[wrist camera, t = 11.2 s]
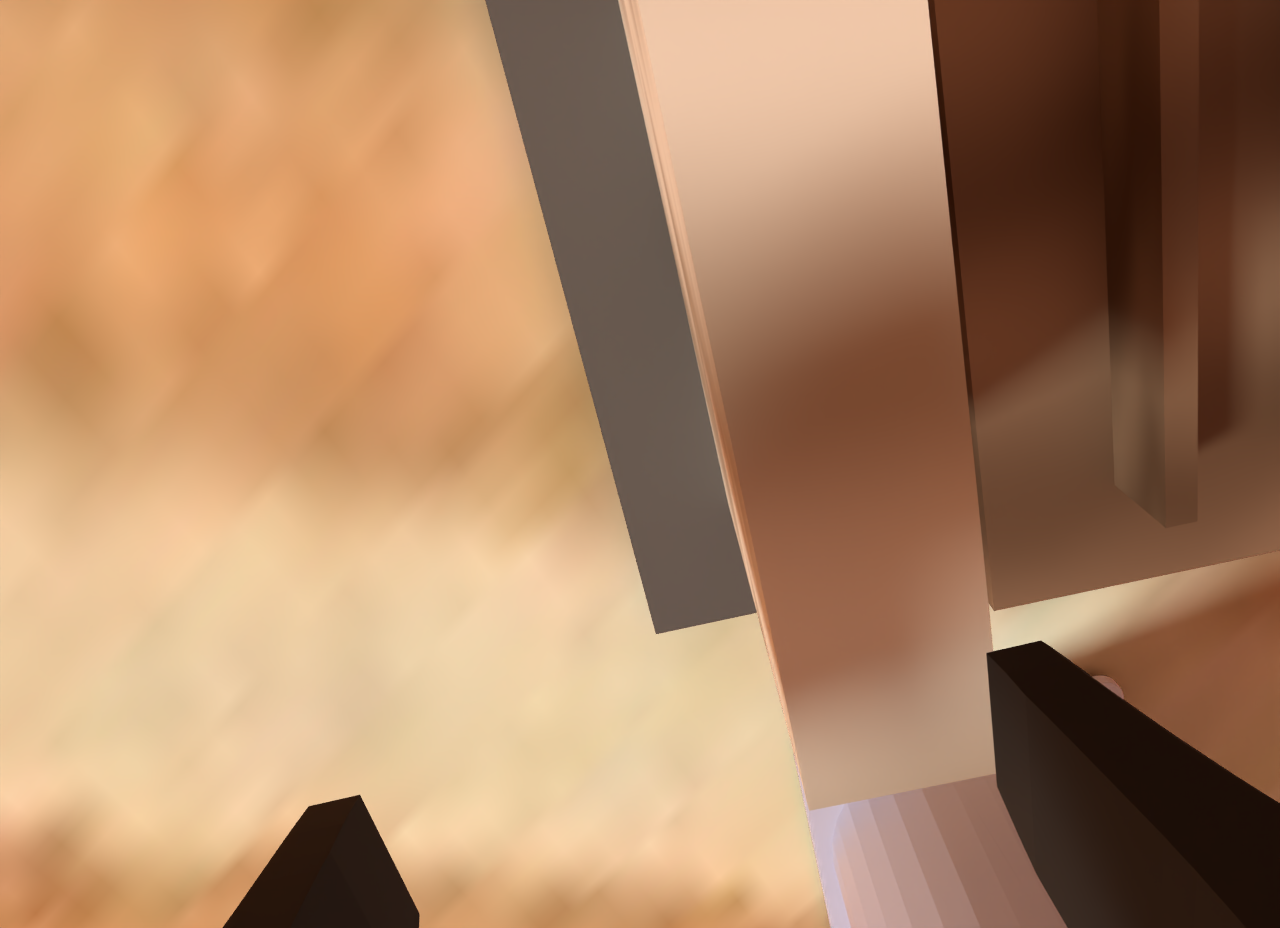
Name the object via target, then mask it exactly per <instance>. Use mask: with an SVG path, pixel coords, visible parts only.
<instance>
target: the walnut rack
mask: <svg viewBox="0 0 1280 928" xmlns="http://www.w3.org/2000/svg"><path fill="white" fill-rule="evenodd" d="M928 9H929V19H930V29H931V38H932V48H933V58H934V68H935V78H936V88H937V98H938V108H939V118H940V128H941V138H942V148H943V158H944V167H945V177H946V187H947V197H948V207H949V217H950V227H951V237H952V247H953V257H954V267H955V277H956V286H957V296H958V306H959V316H960V326H961V336H962V346H963V356H964V366H965V376H966V386H967V396H968V406H969V415H970V425H971V435H972V445H973V455H974V465H975V475H976V485H977V495H978V505H979V515H980V525H981V534H982V544H983V554H984V564H985V574H986V584H987V594H988V603H989V604H990V606H991V607H992V608H993V610H994V611H996V610H1001V609H1005V608H1010V607H1015V606H1020V605H1024V604H1029V603H1034V602H1039V601H1043V600H1048V599H1053V598H1058V597H1062V596H1067V595H1072V594H1077V593H1081V592H1086V591H1091V590H1095V589H1100V588H1105V587H1110V586H1114V585H1119V584H1124V583H1129V582H1133V581H1138V580H1143V579H1148V578H1152V577H1157V576H1162V575H1167V574H1171V573H1176V572H1181V571H1186V570H1190V569H1195V568H1200V567H1205V566H1209V565H1214V564H1219V563H1224V562H1228V561H1233V560H1238V559H1243V558H1247V557H1252V556H1257V555H1261V554H1266V553H1271V552H1276V551H1280V0H928Z"/></svg>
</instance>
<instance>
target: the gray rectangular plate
mask: <svg viewBox="0 0 1280 928" xmlns="http://www.w3.org/2000/svg"><path fill="white" fill-rule="evenodd" d="M485 1H486V5H487V8H488V12H489V16H490V19H491V23H492V27H493V31H494V34H495V38H496V42H497V45H498V49H499V53H500V57H501V60H502V64H503V68H504V71H505V75H506V79H507V83H508V86H509V90H510V94H511V97H512V101H513V105H514V109H515V112H516V116H517V120H518V123H519V127H520V131H521V135H522V138H523V142H524V146H525V149H526V153H527V157H528V161H529V164H530V168H531V172H532V175H533V179H534V183H535V187H536V190H537V194H538V198H539V201H540V205H541V209H542V213H543V216H544V220H545V224H546V227H547V231H548V235H549V239H550V242H551V246H552V250H553V253H554V257H555V261H556V265H557V268H558V272H559V276H560V279H561V283H562V287H563V291H564V294H565V298H566V302H567V305H568V309H569V313H570V316H571V320H572V324H573V328H574V331H575V335H576V339H577V342H578V346H579V350H580V354H581V357H582V361H583V365H584V368H585V372H586V376H587V380H588V383H589V387H590V391H591V394H592V398H593V402H594V406H595V409H596V413H597V417H598V420H599V424H600V428H601V432H602V435H603V439H604V443H605V446H606V450H607V454H608V458H609V461H610V465H611V469H612V472H613V476H614V480H615V484H616V487H617V491H618V495H619V498H620V502H621V506H622V510H623V513H624V517H625V521H626V524H627V528H628V532H629V536H630V539H631V543H632V547H633V550H634V554H635V558H636V562H637V565H638V569H639V573H640V576H641V580H642V584H643V588H644V591H645V595H646V599H647V602H648V606H649V610H650V614H651V617H652V621H653V625H654V628H655V632H656V634H659V633H664V632H668V631H673V630H678V629H682V628H687V627H692V626H696V625H701V624H706V623H710V622H715V621H720V620H724V619H729V618H734V617H738V616H743V615H748V614H752V613H757V611H756V607H755V603H754V599H753V596H752V592H751V588H750V584H749V581H748V577H747V573H746V569H745V565H744V562H743V558H742V554H741V550H740V546H739V543H738V539H737V535H736V531H735V527H734V524H733V520H732V516H731V512H730V508H729V505H728V500H727V496H726V491H725V486H724V482H723V477H722V473H721V468H720V464H719V459H718V454H717V450H716V445H715V441H714V436H713V432H712V427H711V423H710V418H709V413H708V409H707V404H706V400H705V395H704V391H703V386H702V381H701V377H700V372H699V368H698V363H697V359H696V354H695V349H694V345H693V340H692V336H691V331H690V327H689V322H688V317H687V313H686V308H685V304H684V299H683V295H682V290H681V285H680V281H679V276H678V272H677V267H676V263H675V258H674V253H673V249H672V244H671V240H670V235H669V231H668V226H667V222H666V217H665V212H664V208H663V203H662V199H661V194H660V190H659V185H658V180H657V176H656V171H655V167H654V162H653V158H652V153H651V148H650V144H649V139H648V135H647V130H646V126H645V121H644V116H643V112H642V107H641V103H640V98H639V94H638V89H637V84H636V80H635V75H634V71H633V66H632V62H631V57H630V52H629V48H628V43H627V39H626V34H625V30H624V25H623V20H622V16H621V11H620V7H619V2H618V0H485Z"/></svg>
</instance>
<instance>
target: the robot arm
mask: <svg viewBox="0 0 1280 928" xmlns="http://www.w3.org/2000/svg"><path fill="white" fill-rule="evenodd" d="M986 656H987V669H988V681H989V693H990V706H991V718H992V731H993V743H994V756H995V768H996V774H991V775H986V776H981V777H976V778H971V779H966V780H961V781H956V782H951V783H946V784H941V785H936V786H931V787H926V788H921V789H916V790H911V791H906V792H901V793H896V794H891V795H886V796H881V797H876V798H871V799H866V800H861V801H856V802H851V803H846V804H841V805H836V806H831V807H826V808H821V809H816V810H811V811H809V808H808V804H807V801H806V797H805V793H804V789H803V785H802V782H801V778H800V774H799V770H798V766H797V763H796V759H795V763H796V768H797V772H798V777H799V782H800V786H801V791H802V796H803V801H804V805H805V810H806V815H807V819H808V824H809V829H810V833H811V838H812V843H813V847H814V852H815V857H816V862H817V866H818V871H819V876H820V880H821V885H822V890H823V894H824V899H825V904H826V908H827V913H828V918H829V923H830V927H831V928H1280V803H1278V802H1277V801H1275V800H1273V799H1272V798H1270V797H1269V796H1267V795H1265V794H1264V793H1262V792H1261V791H1259V790H1257V789H1256V788H1254V787H1253V786H1251V785H1250V784H1248V783H1246V782H1245V781H1243V780H1242V779H1240V778H1238V777H1237V776H1235V775H1234V774H1232V773H1231V772H1229V771H1228V770H1226V769H1225V768H1223V767H1222V766H1220V765H1219V764H1217V763H1216V762H1214V761H1213V760H1211V759H1210V758H1208V757H1207V756H1205V755H1204V754H1202V753H1201V752H1199V751H1198V750H1196V749H1195V748H1193V747H1192V746H1190V745H1189V744H1187V743H1185V742H1184V741H1182V740H1181V739H1179V738H1178V737H1176V736H1175V735H1174V734H1172V733H1171V732H1169V731H1168V730H1166V729H1165V728H1163V727H1162V726H1160V725H1159V724H1158V723H1156V722H1155V721H1153V720H1152V719H1150V718H1149V717H1147V716H1146V715H1145V714H1143V713H1142V712H1140V711H1139V710H1138V709H1136V708H1135V707H1133V706H1132V705H1131V704H1129V703H1128V702H1126V701H1125V700H1124V695H1123V691H1122V689H1121V688H1120V687H1119V685H1118V684H1117V683H1116V682H1115V681H1114V680H1113V679H1112V678H1111V677H1108V676H1104V675H1102V676H1093V677H1092V676H1090V675H1089V674H1088V673H1086V672H1085V671H1083V670H1082V669H1081V668H1079V667H1078V666H1077V665H1075V664H1074V663H1072V662H1071V661H1070V660H1068V659H1067V658H1066V657H1064V656H1063V655H1061V654H1060V653H1059V652H1057V651H1056V650H1055V649H1053V648H1052V647H1050V646H1049V645H1047V644H1046V643H1044V642H1042V641H1037V642H1033V643H1028V644H1024V645H1020V646H1015V647H1011V648H1006V649H1002V650H997V651H993V652H989V653H986ZM794 758H795V755H794ZM223 928H419V912H418V910H417V908H416V906H415V904H414V902H413V900H412V898H411V896H410V894H409V892H408V890H407V888H406V886H405V884H404V882H403V880H402V878H401V876H400V874H399V872H398V870H397V868H396V866H395V864H394V862H393V860H392V858H391V856H390V854H389V852H388V850H387V848H386V846H385V844H384V842H383V840H382V838H381V836H380V834H379V832H378V830H377V828H376V826H375V824H374V822H373V820H372V818H371V816H370V814H369V812H368V810H367V808H366V806H365V804H364V802H363V800H362V798H361V796H360V795H357V796H353V797H348V798H344V799H339V800H335V801H330V802H326V803H322V804H317V805H313V806H309V807H308V808H307V809H306V811H305V812H304V813H303V815H302V816H301V818H300V819H299V820H298V822H297V823H296V824H295V826H294V827H293V828H292V830H291V831H290V833H289V834H288V835H287V837H286V838H285V840H284V841H283V843H282V844H281V845H280V847H279V848H278V850H277V851H276V853H275V854H274V855H273V857H272V858H271V860H270V861H269V863H268V864H267V865H266V867H265V868H264V870H263V871H262V873H261V874H260V875H259V877H258V878H257V880H256V881H255V883H254V884H253V885H252V887H251V888H250V890H249V891H248V893H247V894H246V896H245V897H244V898H243V900H242V901H241V903H240V904H239V906H238V907H237V908H236V910H235V911H234V913H233V914H232V915H231V917H230V918H229V920H228V921H227V922H226V924H225V925H224V926H223Z"/></svg>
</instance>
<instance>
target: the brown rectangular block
mask: <svg viewBox="0 0 1280 928" xmlns="http://www.w3.org/2000/svg"><path fill="white" fill-rule="evenodd" d="M618 2H619V7H620V11H621V16H622V20H623V25H624V30H625V34H626V39H627V43H628V48H629V52H630V57H631V62H632V66H633V71H634V75H635V80H636V84H637V89H638V94H639V98H640V103H641V107H642V112H643V116H644V121H645V126H646V130H647V135H648V139H649V144H650V148H651V153H652V158H653V162H654V167H655V171H656V176H657V180H658V185H659V190H660V194H661V199H662V203H663V208H664V212H665V217H666V222H667V226H668V231H669V235H670V240H671V244H672V249H673V253H674V258H675V263H676V267H677V272H678V276H679V281H680V285H681V290H682V295H683V299H684V304H685V308H686V313H687V317H688V322H689V327H690V331H691V336H692V340H693V345H694V349H695V354H696V359H697V363H698V368H699V372H700V377H701V381H702V386H703V391H704V395H705V400H706V404H707V409H708V413H709V418H710V423H711V427H712V432H713V436H714V441H715V445H716V450H717V454H718V459H719V464H720V468H721V473H722V477H723V482H724V486H725V491H726V496H727V500H728V505H729V508H730V512H731V516H732V520H733V524H734V527H735V531H736V535H737V539H738V543H739V546H740V550H741V554H742V558H743V562H744V565H745V569H746V573H747V577H748V581H749V584H750V588H751V592H752V596H753V599H754V603H755V607H756V611H757V615H758V618H759V622H760V626H761V630H762V634H763V637H764V641H765V645H766V649H767V653H768V656H769V660H770V664H771V668H772V672H773V675H774V679H775V683H776V687H777V691H778V694H779V698H780V702H781V706H782V709H783V713H784V717H785V721H786V725H787V728H788V732H789V736H790V740H791V744H792V747H793V751H794V755H795V759H796V763H797V766H798V770H799V774H800V778H801V782H802V785H803V789H804V793H805V797H806V801H807V804H808V808H809V811H811V810H816V809H821V808H826V807H831V806H836V805H841V804H846V803H851V802H856V801H861V800H866V799H871V798H876V797H881V796H886V795H891V794H896V793H901V792H906V791H911V790H916V789H921V788H926V787H931V786H936V785H941V784H946V783H951V782H956V781H961V780H966V779H971V778H976V777H981V776H986V775H991V774H996V768H995V756H994V743H993V731H992V718H991V706H990V693H989V681H988V669H987V656H986V653H989V652H993V644H992V634H991V624H990V614H989V604H988V594H987V584H986V574H985V564H984V554H983V544H982V534H981V525H980V515H979V505H978V495H977V485H976V475H975V465H974V455H973V445H972V435H971V425H970V415H969V406H968V396H967V386H966V376H965V366H964V356H963V346H962V336H961V326H960V316H959V306H958V296H957V286H956V277H955V267H954V257H953V247H952V237H951V227H950V217H949V207H948V197H947V187H946V177H945V167H944V158H943V148H942V138H941V128H940V118H939V108H938V98H937V88H936V78H935V68H934V58H933V48H932V38H931V29H930V19H929V9H928V0H618Z"/></svg>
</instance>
